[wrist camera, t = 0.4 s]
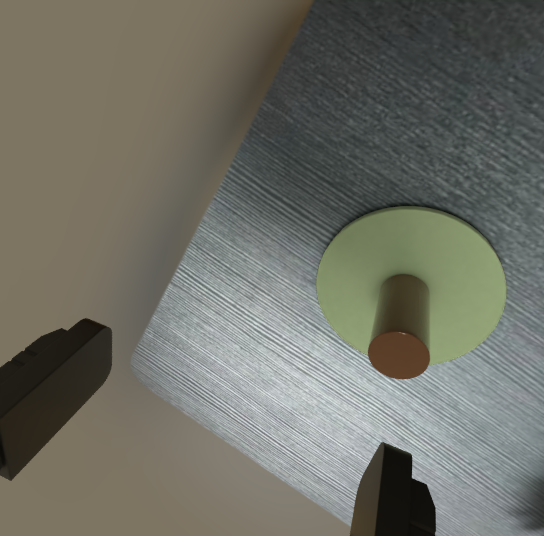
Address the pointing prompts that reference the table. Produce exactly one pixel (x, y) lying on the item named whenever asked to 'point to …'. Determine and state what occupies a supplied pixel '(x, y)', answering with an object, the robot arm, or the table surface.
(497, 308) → the lid
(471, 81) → the table surface
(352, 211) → the table surface
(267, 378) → the table surface
